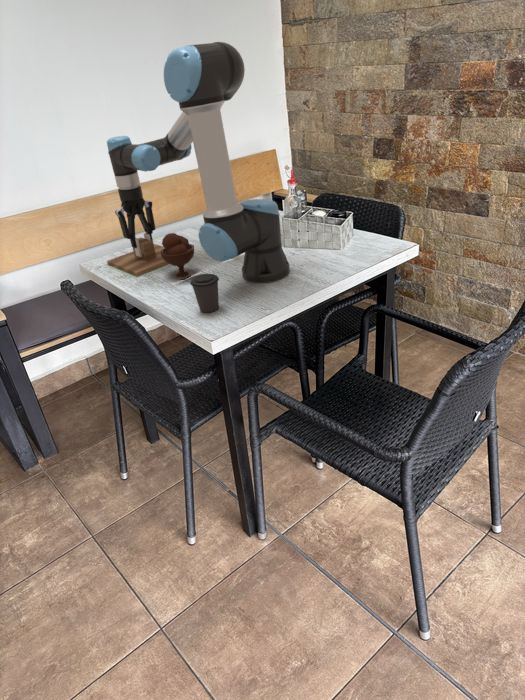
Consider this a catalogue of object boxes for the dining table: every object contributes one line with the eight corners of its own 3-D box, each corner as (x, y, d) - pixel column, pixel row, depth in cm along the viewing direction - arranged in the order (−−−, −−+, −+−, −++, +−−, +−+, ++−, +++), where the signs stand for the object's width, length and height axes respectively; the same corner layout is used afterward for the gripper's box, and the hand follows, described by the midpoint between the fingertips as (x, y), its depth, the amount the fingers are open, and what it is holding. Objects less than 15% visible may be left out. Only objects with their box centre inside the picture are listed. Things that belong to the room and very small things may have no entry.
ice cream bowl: (194, 283, 168) (185, 237, 160) (161, 283, 170) (151, 239, 163) (203, 269, 177) (195, 226, 169) (172, 270, 179) (163, 227, 172)
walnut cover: (185, 257, 187) (181, 237, 183) (137, 277, 176) (131, 255, 172) (154, 247, 200) (150, 228, 196) (108, 264, 189) (102, 244, 185)
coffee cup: (204, 318, 145) (198, 285, 140) (190, 309, 151) (183, 277, 146) (229, 308, 149) (224, 276, 144) (214, 300, 155) (208, 268, 150)
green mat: (189, 259, 187) (189, 257, 186) (136, 280, 175) (136, 278, 174) (155, 248, 202) (155, 246, 201) (104, 267, 189) (104, 265, 189)
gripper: (144, 179, 182) (159, 244, 194) (100, 192, 172) (118, 259, 184) (156, 181, 177) (170, 248, 189) (111, 194, 167) (129, 263, 179)
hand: (144, 253), depth 186 cm, fingers closed on walnut cover, 4 cm apart
